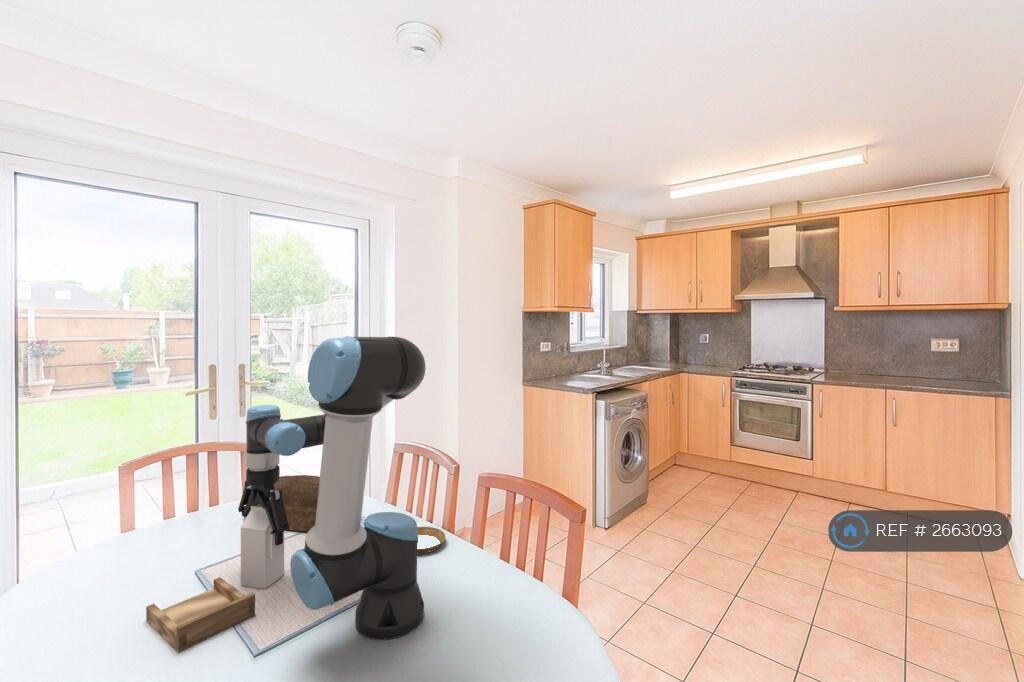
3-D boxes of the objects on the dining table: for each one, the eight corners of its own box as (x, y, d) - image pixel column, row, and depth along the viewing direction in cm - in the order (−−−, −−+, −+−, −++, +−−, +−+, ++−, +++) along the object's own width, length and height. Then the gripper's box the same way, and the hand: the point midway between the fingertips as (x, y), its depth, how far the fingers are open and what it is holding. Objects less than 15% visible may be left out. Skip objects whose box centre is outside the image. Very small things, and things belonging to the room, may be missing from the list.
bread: (340, 538, 145) (340, 487, 145) (248, 528, 151) (248, 479, 150) (363, 518, 160) (363, 472, 159) (278, 510, 165) (278, 465, 164)
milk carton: (265, 589, 116) (265, 514, 116) (240, 585, 118) (240, 511, 117) (284, 574, 123) (284, 503, 123) (260, 571, 125) (261, 500, 124)
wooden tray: (255, 615, 106) (255, 593, 106) (178, 652, 94) (178, 628, 94) (219, 589, 116) (219, 570, 116) (146, 620, 104) (146, 598, 103)
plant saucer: (453, 549, 140) (454, 540, 140) (406, 562, 131) (406, 553, 131) (432, 530, 152) (432, 522, 152) (388, 542, 144) (388, 533, 144)
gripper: (304, 473, 116) (303, 557, 117) (253, 453, 130) (252, 529, 131) (274, 481, 109) (274, 570, 110) (224, 460, 124) (223, 539, 125)
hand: (262, 548), depth 121 cm, fingers open, 13 cm apart
